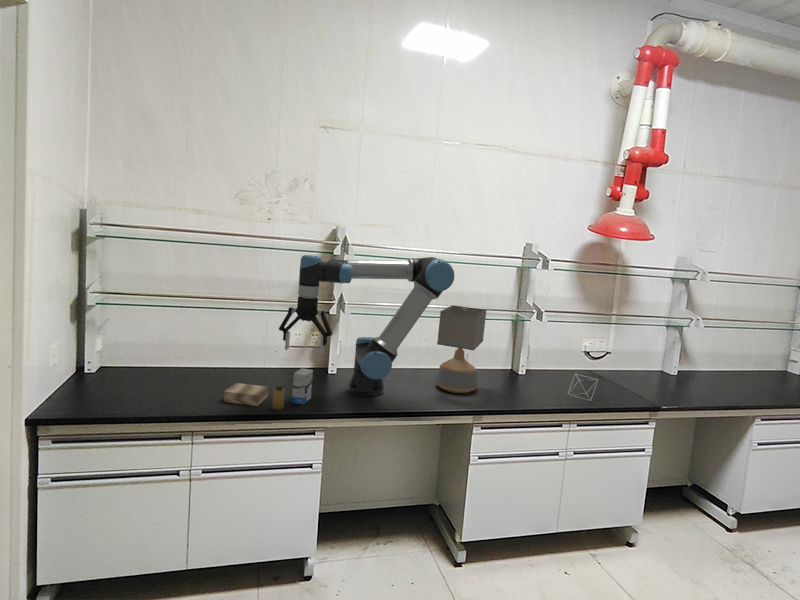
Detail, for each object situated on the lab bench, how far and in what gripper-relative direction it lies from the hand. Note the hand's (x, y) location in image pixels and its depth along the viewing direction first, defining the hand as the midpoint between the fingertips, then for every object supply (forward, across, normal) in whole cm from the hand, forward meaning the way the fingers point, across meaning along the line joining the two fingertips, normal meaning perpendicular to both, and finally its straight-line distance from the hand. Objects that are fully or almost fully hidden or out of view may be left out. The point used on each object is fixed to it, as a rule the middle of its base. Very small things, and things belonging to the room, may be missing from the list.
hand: (304, 351), depth 206 cm
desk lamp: (+19, -60, -39) cm, 74 cm away
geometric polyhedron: (+19, -118, -50) cm, 130 cm away
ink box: (+20, 0, 0) cm, 20 cm away
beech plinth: (+20, +20, +5) cm, 29 cm away
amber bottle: (+20, +6, +10) cm, 23 cm away
